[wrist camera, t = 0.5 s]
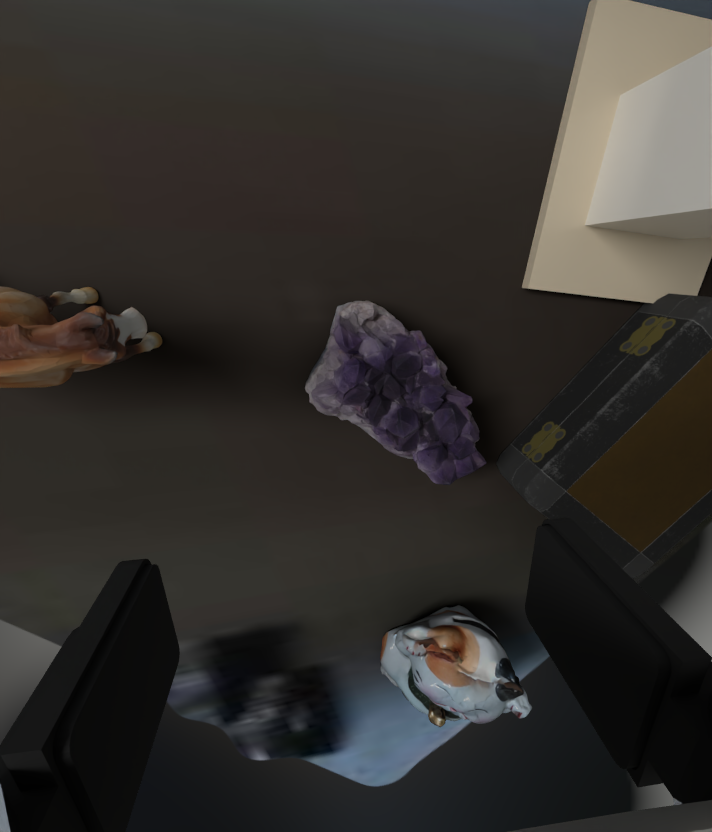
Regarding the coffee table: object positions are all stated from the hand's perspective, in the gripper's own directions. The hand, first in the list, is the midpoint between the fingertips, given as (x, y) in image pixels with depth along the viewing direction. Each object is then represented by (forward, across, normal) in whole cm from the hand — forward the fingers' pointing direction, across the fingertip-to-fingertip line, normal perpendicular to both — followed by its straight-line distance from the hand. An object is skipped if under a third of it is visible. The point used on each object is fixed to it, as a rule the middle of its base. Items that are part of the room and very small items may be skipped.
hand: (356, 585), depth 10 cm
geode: (+32, -8, +5) cm, 34 cm away
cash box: (+33, -34, +12) cm, 49 cm away
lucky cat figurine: (+32, -12, +39) cm, 52 cm away
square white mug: (+32, -31, -14) cm, 47 cm away
